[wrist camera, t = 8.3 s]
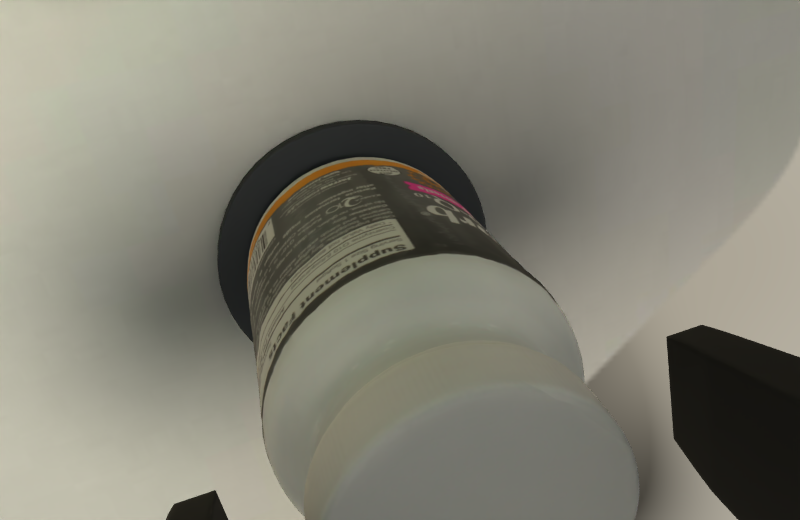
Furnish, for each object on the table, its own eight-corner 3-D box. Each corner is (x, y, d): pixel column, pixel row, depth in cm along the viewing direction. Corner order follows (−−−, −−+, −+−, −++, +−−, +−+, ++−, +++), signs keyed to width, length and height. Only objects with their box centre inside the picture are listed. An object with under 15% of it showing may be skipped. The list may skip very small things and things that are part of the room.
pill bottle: (503, 258, 20) (744, 508, 11) (345, 394, 20) (454, 740, 11) (369, 101, 17) (540, 260, 8) (192, 260, 18) (180, 569, 9)
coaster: (456, 86, 18) (461, 89, 18) (500, 325, 21) (506, 331, 21) (176, 165, 17) (176, 170, 17) (264, 402, 20) (265, 410, 20)
